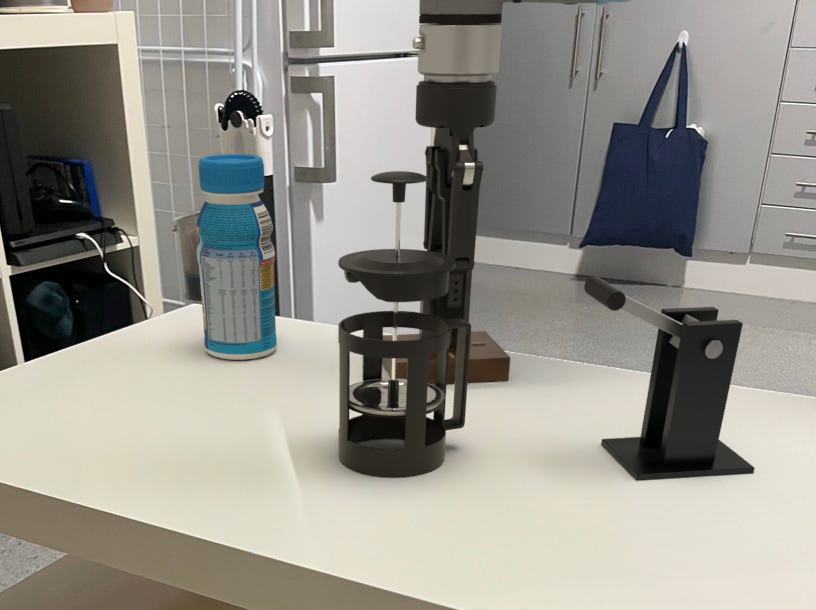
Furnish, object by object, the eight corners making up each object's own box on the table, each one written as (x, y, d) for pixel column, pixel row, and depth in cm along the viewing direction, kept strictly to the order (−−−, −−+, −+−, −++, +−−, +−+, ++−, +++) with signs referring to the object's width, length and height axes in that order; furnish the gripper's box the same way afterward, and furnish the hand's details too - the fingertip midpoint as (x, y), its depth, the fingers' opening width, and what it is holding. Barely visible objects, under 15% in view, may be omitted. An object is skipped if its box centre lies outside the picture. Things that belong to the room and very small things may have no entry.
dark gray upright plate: (464, 342, 109) (469, 252, 104) (467, 346, 108) (473, 255, 103) (418, 344, 108) (422, 253, 103) (421, 348, 107) (425, 256, 102)
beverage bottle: (221, 366, 110) (208, 165, 100) (192, 346, 117) (177, 155, 106) (290, 354, 114) (285, 159, 103) (258, 336, 120) (250, 150, 109)
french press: (354, 498, 81) (356, 185, 69) (312, 457, 88) (308, 168, 76) (484, 476, 84) (508, 176, 72) (434, 438, 92) (448, 160, 80)
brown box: (483, 353, 114) (485, 329, 113) (508, 380, 106) (510, 355, 104) (378, 357, 113) (379, 333, 111) (395, 386, 104) (396, 360, 103)
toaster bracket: (634, 492, 82) (661, 332, 75) (599, 455, 88) (620, 305, 82) (751, 484, 83) (788, 326, 76) (707, 448, 90) (737, 300, 83)
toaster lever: (600, 312, 75) (617, 281, 74) (577, 296, 79) (593, 266, 78) (716, 369, 79) (734, 340, 78) (688, 350, 83) (705, 323, 82)
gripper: (399, 73, 101) (393, 311, 114) (438, 85, 87) (426, 356, 99) (472, 72, 102) (458, 308, 115) (523, 84, 88) (500, 352, 100)
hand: (443, 330), depth 107 cm, fingers open, 4 cm apart
